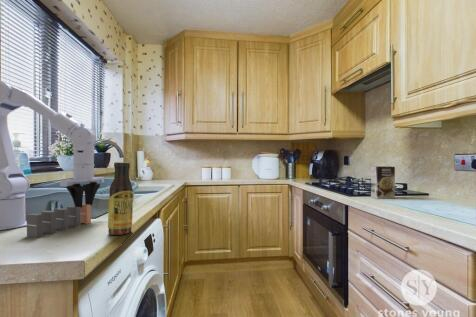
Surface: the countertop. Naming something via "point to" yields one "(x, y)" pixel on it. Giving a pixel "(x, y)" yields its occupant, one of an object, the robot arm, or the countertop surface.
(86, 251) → the countertop surface
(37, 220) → the domino
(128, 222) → the sauce bottle
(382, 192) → the coffee box
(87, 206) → the domino
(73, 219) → the domino
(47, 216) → the domino
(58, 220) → the domino
